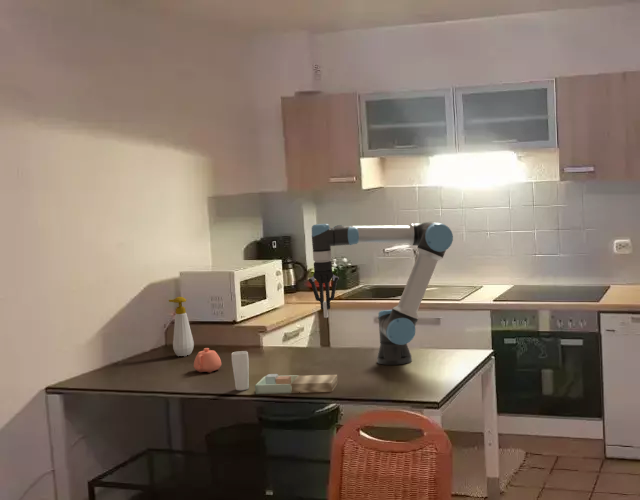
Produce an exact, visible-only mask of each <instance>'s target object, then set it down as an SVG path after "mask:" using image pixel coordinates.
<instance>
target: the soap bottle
mask: <svg viewBox="0 0 640 500" xmlns="http://www.w3.org/2000/svg"><path fill="white" fill-rule="evenodd" d="M186 301H187V299H186V298H185V297H183V296H177V297H175V298H173V299H168V302H169V303H174V304H176V303H178V306H176V308H175V315H174V327H173V340H172V349H173V351H174V353H175V355H176V356H177V357H179V356H184V357H187V355H188V356H190V355H191V354H192V352H193V350H194V346H195V342H194V338H193V334H192V330H191V327H190V321H189V317H188V314H187V312H186V307H185V306H182V303H186Z"/></svg>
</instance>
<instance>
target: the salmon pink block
mask: <svg viewBox="0 0 640 500" xmlns="http://www.w3.org/2000/svg"><path fill="white" fill-rule="evenodd" d="M276 384H290V385H291V376H286V375H278V377H277V378H276Z"/></svg>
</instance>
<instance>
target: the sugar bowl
mask: <svg viewBox="0 0 640 500" xmlns="http://www.w3.org/2000/svg"><path fill="white" fill-rule="evenodd" d="M194 358H195V359H194V362H193V368H194V369H195V371H197V372H198V373H204V372H207V373H210V374H211V373H213V372H214V371H218V370H220V368H221V366H222V360H221V358H220V356H219V354H218V352H216V350H213V349H212V350H211V349H210V348H209V347H205V348H203V350H201V351H198V353H197V355H196V356H195V357H194Z"/></svg>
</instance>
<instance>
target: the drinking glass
mask: <svg viewBox="0 0 640 500" xmlns="http://www.w3.org/2000/svg"><path fill="white" fill-rule="evenodd" d="M249 362H250V359H249V352H248V351H247V350H241V351H239V350H238V351H234V352H232V353H231V366H232V371H233V379H234V384H235V390H236V391H240V392H241V391H247V390H249V388H250V385H249V383H250V382H249V379H250V378H249V375H250V374H249V371H250V367H249V366H250V363H249Z"/></svg>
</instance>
